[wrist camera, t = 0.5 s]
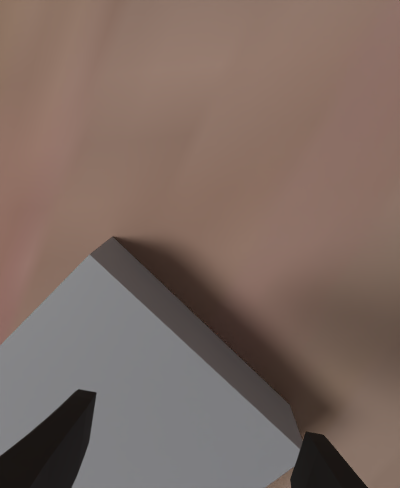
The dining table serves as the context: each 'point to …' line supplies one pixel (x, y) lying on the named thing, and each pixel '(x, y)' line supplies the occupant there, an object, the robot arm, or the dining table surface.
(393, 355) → the dining table surface
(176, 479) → the base block
